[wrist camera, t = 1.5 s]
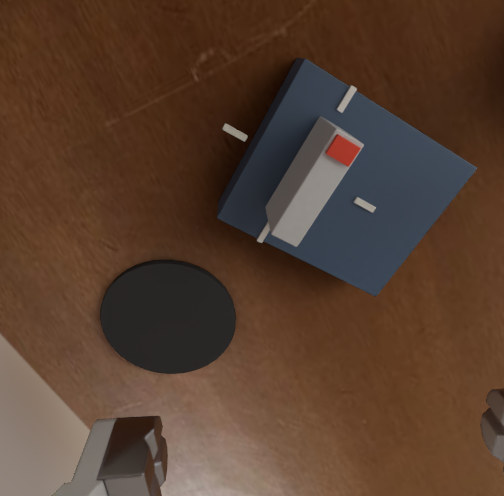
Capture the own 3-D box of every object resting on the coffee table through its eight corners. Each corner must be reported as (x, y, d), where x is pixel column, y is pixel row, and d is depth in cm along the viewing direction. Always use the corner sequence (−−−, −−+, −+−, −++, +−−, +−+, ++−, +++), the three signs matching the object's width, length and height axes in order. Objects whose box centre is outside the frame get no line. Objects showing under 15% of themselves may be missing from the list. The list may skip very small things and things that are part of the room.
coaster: (83, 340, 32) (81, 345, 31) (132, 236, 28) (130, 240, 28) (200, 384, 34) (199, 390, 34) (259, 294, 31) (259, 298, 30)
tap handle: (287, 219, 25) (297, 249, 21) (264, 207, 24) (270, 236, 21) (343, 130, 23) (366, 146, 19) (319, 115, 22) (337, 129, 18)
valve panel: (188, 188, 27) (183, 205, 24) (266, 35, 23) (271, 33, 20) (362, 276, 30) (375, 299, 27) (453, 155, 27) (480, 167, 24)
